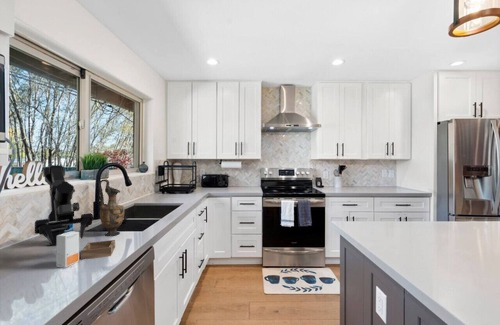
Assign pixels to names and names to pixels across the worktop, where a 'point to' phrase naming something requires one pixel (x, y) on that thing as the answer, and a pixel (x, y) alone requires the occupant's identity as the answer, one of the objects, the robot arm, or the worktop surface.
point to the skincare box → (67, 249)
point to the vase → (110, 210)
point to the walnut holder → (98, 249)
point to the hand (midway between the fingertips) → (67, 240)
